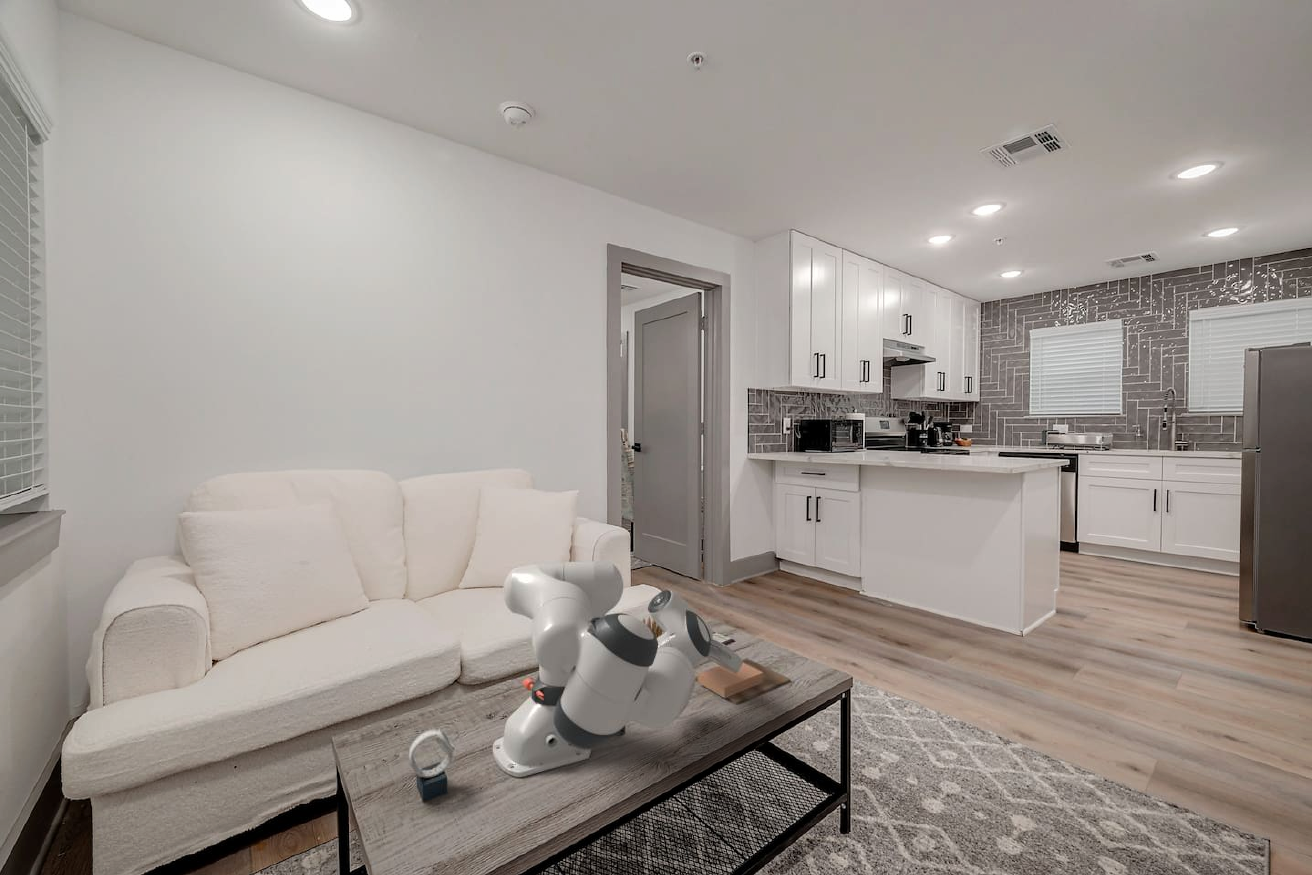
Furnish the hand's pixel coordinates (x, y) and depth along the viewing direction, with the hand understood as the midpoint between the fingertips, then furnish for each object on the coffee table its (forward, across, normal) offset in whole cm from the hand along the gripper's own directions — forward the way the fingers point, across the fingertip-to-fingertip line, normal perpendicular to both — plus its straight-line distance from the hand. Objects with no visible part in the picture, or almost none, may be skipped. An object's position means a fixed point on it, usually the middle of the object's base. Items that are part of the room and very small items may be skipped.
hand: (723, 663), depth 143 cm
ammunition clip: (+1, +27, +9) cm, 28 cm away
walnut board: (+9, 0, 0) cm, 9 cm away
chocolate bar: (+15, +24, -5) cm, 29 cm away
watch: (-46, +4, +55) cm, 72 cm away
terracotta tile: (0, 0, +6) cm, 6 cm away
